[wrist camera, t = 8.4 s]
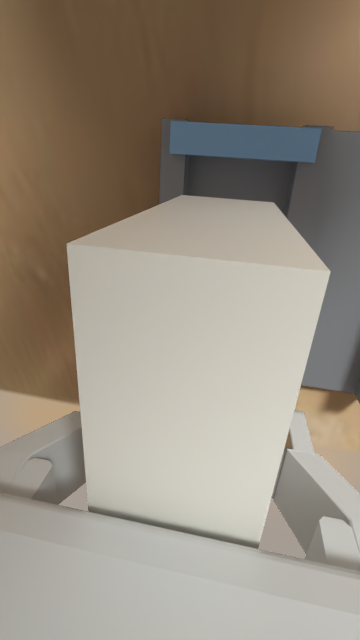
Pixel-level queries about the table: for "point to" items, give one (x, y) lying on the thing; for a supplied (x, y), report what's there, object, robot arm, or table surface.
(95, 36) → the table surface
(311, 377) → the board
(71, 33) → the table surface
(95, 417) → the plug block
